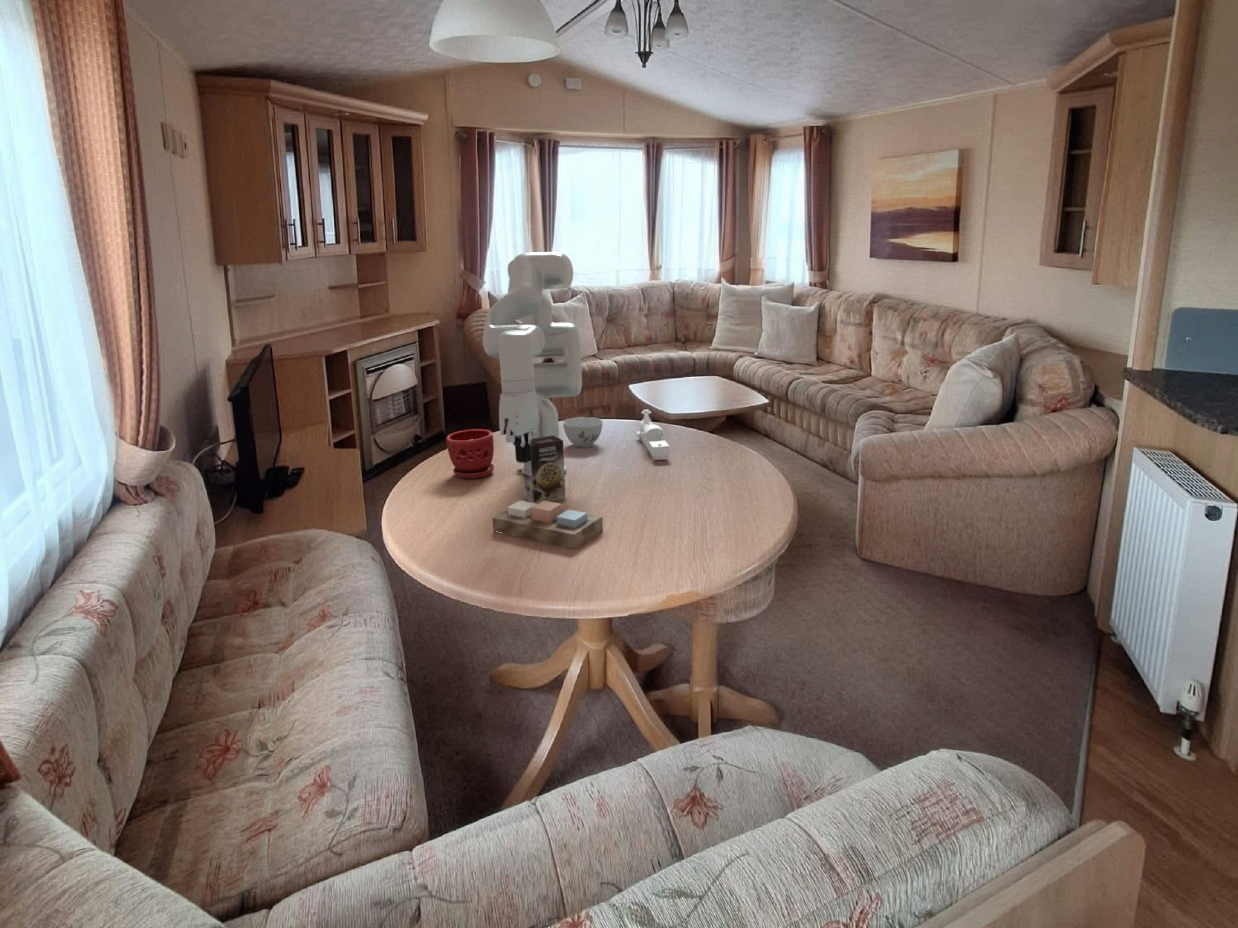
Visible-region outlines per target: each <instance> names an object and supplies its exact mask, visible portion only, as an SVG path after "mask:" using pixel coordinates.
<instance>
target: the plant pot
mask: <svg viewBox="0 0 1238 928" xmlns="http://www.w3.org/2000/svg"><path fill="white" fill-rule="evenodd" d="M445 440H446V447H447V451H448V455H449V458H450V461H451V463H452V465H453V466H454V468H453V471H452V472H453V474H454V475H455V476H456V477H458V478H461V477H462V479H463V478H465V479H469V478H471V479H478V478H479V477H480V478H483V477H486V476H489V475H491V474H492V473H493V471H494V469H495V465H494V464H493V463H492V461H493V458H494V452H495V451H494V448H495V446H494V435H493V432H492V431H491V430H489V429H484V428H483V429H482V428H481V429H480V428H479V429H474V428H473V429H465V430H460V431H455V432H453V433H450V434H448V435H447V437H446V439H445Z"/></svg>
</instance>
